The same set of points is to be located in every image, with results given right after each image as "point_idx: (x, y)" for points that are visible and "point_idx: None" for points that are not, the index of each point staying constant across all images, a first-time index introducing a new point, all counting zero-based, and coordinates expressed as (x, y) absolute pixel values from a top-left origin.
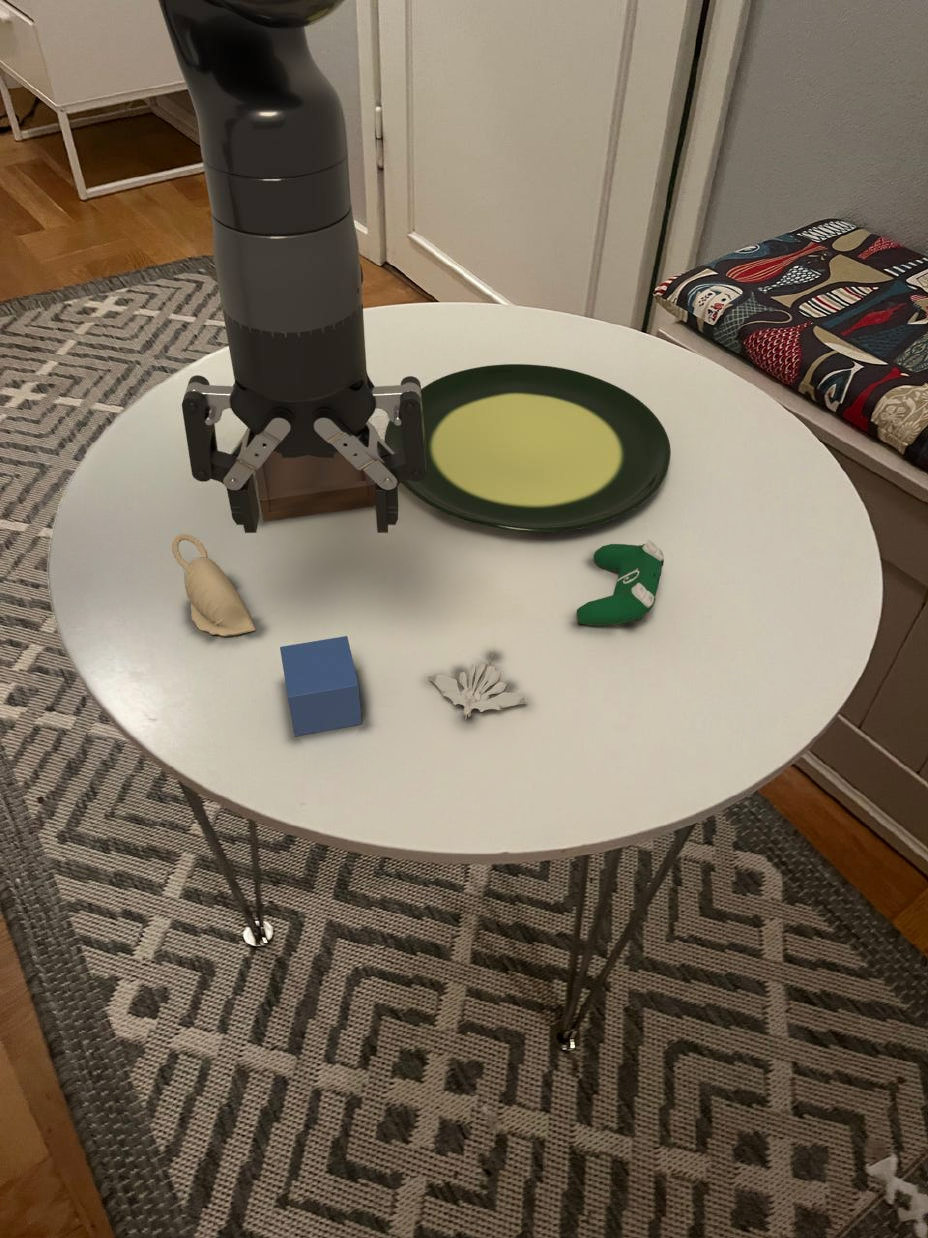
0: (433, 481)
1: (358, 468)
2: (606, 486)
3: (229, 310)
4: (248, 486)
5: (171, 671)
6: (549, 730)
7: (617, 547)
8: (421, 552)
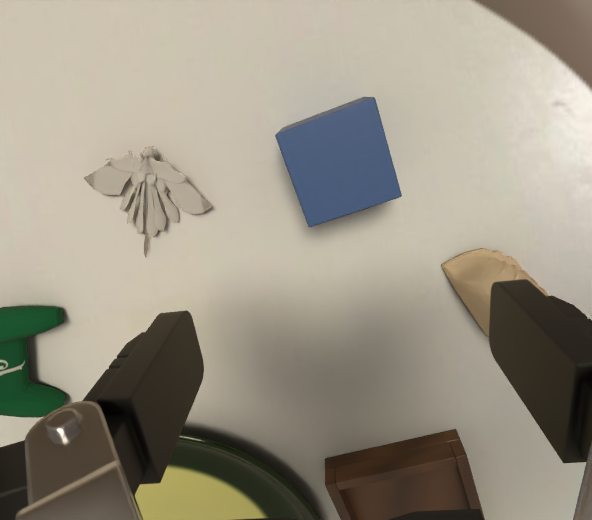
0: (263, 493)
1: (110, 466)
2: None
3: None
4: (574, 384)
5: (542, 188)
6: (56, 146)
7: (25, 411)
8: (262, 397)
